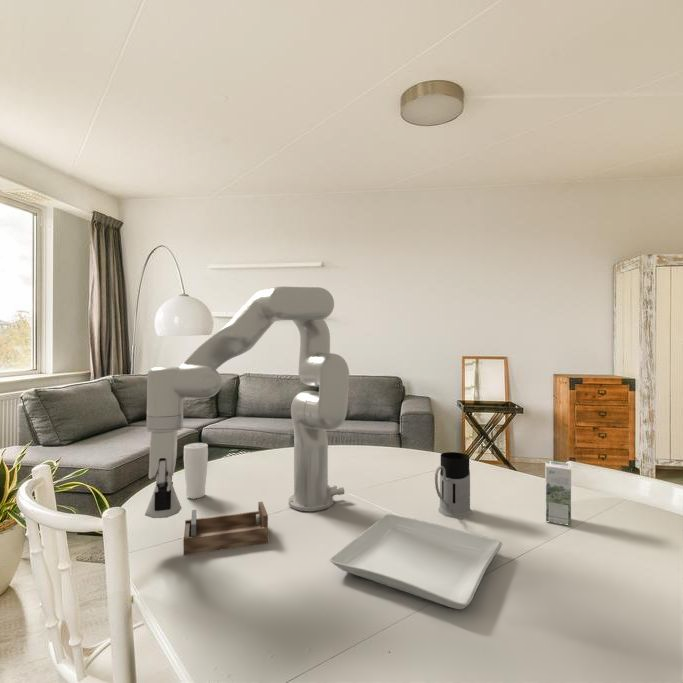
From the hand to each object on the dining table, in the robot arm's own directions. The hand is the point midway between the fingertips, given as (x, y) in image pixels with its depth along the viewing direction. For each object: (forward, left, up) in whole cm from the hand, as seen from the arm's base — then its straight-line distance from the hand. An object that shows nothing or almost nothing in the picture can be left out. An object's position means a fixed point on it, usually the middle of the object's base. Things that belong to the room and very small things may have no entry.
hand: (163, 504), depth 94 cm
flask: (0, 0, -2) cm, 2 cm away
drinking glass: (-6, -31, -10) cm, 33 cm away
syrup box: (-94, +16, -10) cm, 96 cm away
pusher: (-6, 0, -8) cm, 10 cm away
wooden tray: (-13, 0, -10) cm, 16 cm away
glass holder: (-70, +4, -10) cm, 71 cm away
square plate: (-50, +24, -10) cm, 57 cm away
